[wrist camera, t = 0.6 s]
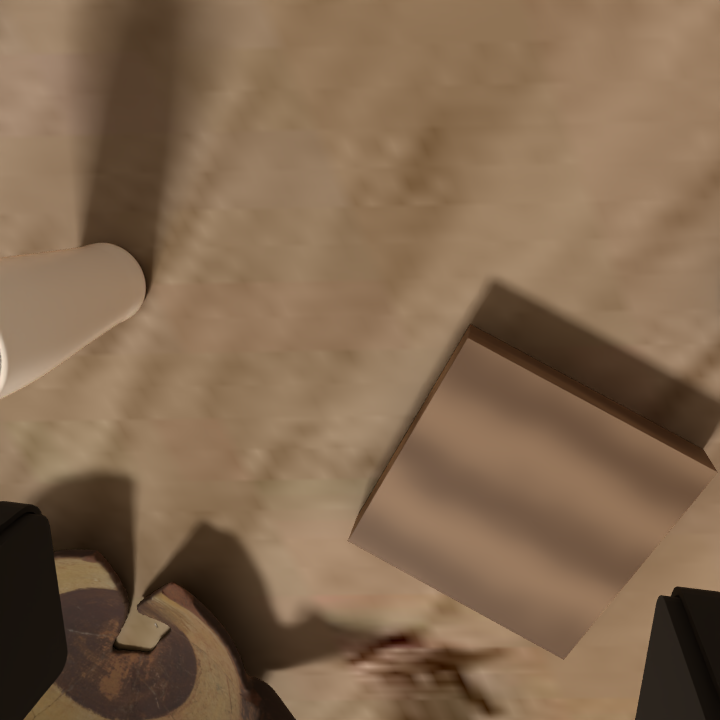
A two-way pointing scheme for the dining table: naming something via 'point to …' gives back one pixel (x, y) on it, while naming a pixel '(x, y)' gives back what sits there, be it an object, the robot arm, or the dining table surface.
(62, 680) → the olive brown shallow dish
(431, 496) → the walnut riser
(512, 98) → the dining table surface
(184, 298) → the dining table surface
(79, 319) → the drinking glass
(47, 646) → the robot arm
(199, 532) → the dining table surface
